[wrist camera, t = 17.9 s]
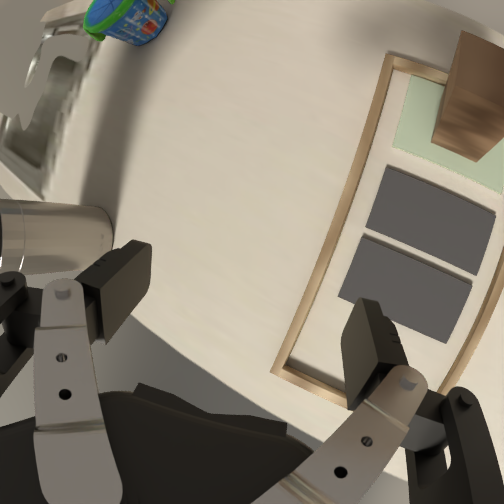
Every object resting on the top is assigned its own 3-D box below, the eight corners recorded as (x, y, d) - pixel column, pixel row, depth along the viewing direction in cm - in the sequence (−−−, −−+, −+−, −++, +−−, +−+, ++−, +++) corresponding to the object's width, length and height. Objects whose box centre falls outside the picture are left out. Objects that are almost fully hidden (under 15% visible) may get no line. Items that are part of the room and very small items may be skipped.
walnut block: (430, 142, 25) (454, 85, 14) (440, 99, 24) (461, 30, 13) (476, 162, 23) (523, 118, 12) (484, 118, 22) (525, 60, 11)
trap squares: (338, 295, 29) (337, 296, 29) (385, 168, 27) (385, 167, 27) (445, 342, 25) (446, 343, 25) (494, 216, 23) (496, 215, 22)
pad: (392, 147, 27) (392, 145, 26) (411, 76, 25) (411, 74, 25) (500, 194, 22) (501, 194, 22) (513, 120, 21) (514, 119, 21)
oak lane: (273, 367, 32) (269, 371, 31) (386, 59, 26) (385, 53, 25) (419, 431, 26) (419, 437, 25) (535, 123, 20) (540, 119, 19)
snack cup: (109, 66, 42) (64, 45, 32) (124, 20, 41) (85, -4, 32) (183, 40, 36) (137, 5, 26) (196, -8, 35) (158, -44, 26)
